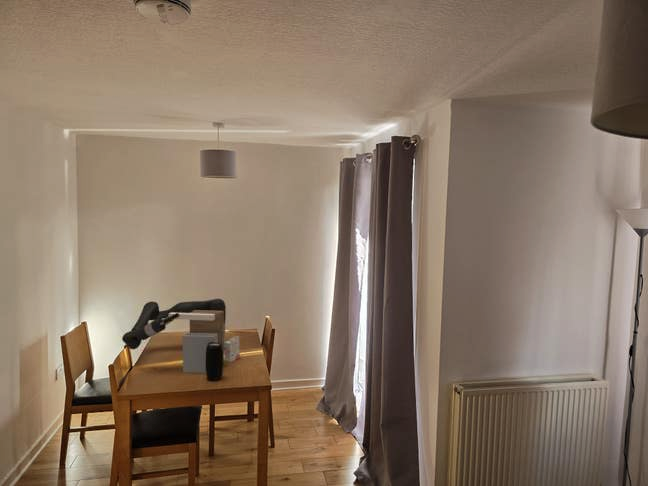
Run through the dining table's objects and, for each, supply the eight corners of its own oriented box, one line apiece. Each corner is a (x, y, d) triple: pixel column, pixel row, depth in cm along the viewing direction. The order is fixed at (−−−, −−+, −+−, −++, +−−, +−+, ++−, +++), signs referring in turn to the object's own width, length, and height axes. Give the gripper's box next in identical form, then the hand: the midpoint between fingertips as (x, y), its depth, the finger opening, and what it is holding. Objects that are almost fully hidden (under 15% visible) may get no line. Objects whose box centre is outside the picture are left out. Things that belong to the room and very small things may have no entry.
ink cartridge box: (233, 357, 273) (233, 334, 272) (239, 358, 270) (239, 335, 269) (224, 360, 266) (224, 337, 265) (230, 362, 263) (229, 338, 262)
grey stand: (187, 368, 252) (187, 332, 250) (217, 369, 250) (217, 333, 249) (183, 372, 245) (182, 335, 244) (213, 373, 243) (213, 336, 242)
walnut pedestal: (195, 361, 263) (194, 310, 261) (223, 363, 261) (223, 310, 259) (189, 366, 255) (189, 312, 253) (219, 367, 253) (219, 313, 251)
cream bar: (171, 317, 249) (171, 312, 249) (214, 319, 247) (214, 314, 247) (168, 318, 245) (168, 313, 245) (212, 320, 243) (212, 315, 243)
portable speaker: (205, 376, 238) (204, 342, 237) (222, 375, 241) (222, 340, 240) (206, 382, 230) (206, 346, 229) (224, 380, 233) (224, 344, 232)
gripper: (145, 324, 241) (171, 310, 240) (157, 318, 255) (181, 305, 254) (152, 336, 241) (178, 322, 240) (163, 329, 255) (188, 316, 254)
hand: (179, 313), depth 247 cm, fingers closed on cream bar, 3 cm apart
